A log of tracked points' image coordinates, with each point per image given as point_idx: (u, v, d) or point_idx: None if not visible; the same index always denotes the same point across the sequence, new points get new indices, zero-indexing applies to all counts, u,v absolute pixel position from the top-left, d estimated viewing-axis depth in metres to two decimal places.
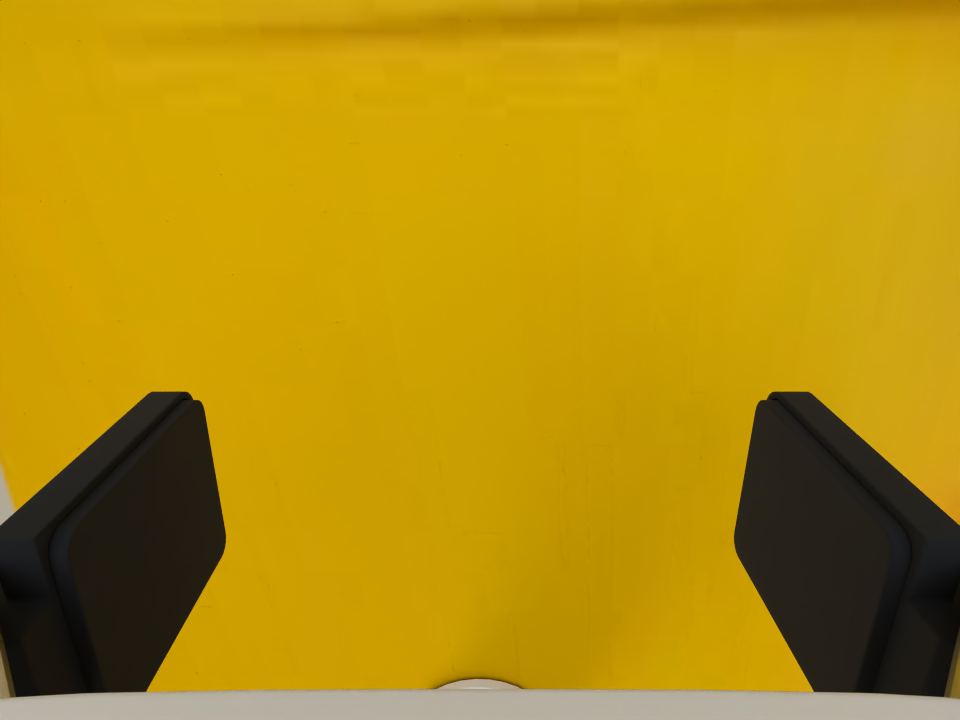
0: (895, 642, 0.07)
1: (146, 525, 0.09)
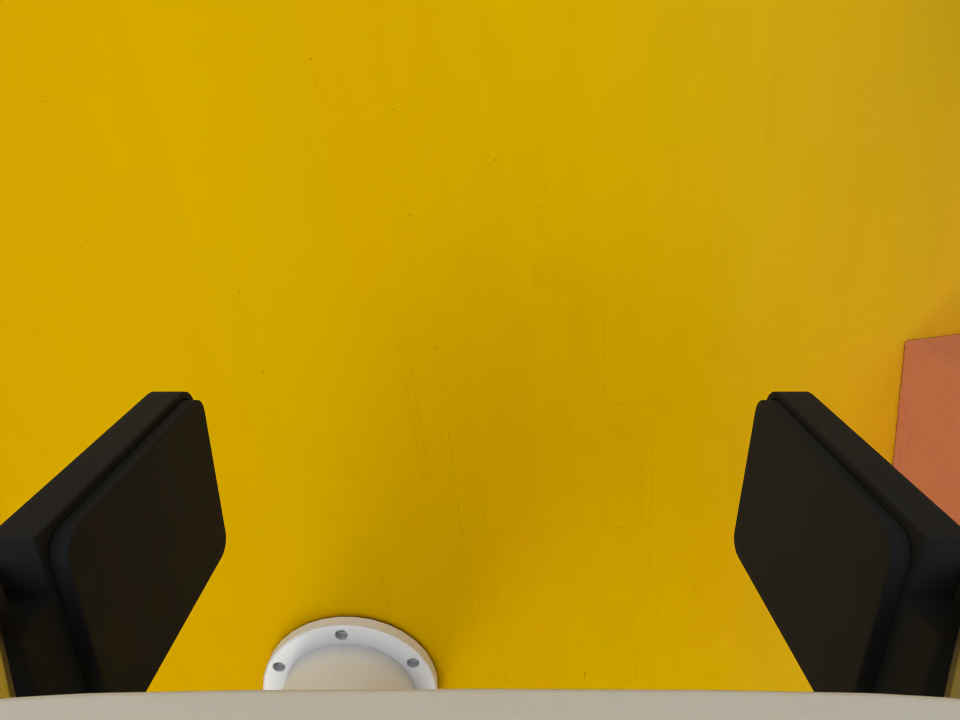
0: (895, 642, 0.07)
1: (146, 525, 0.09)
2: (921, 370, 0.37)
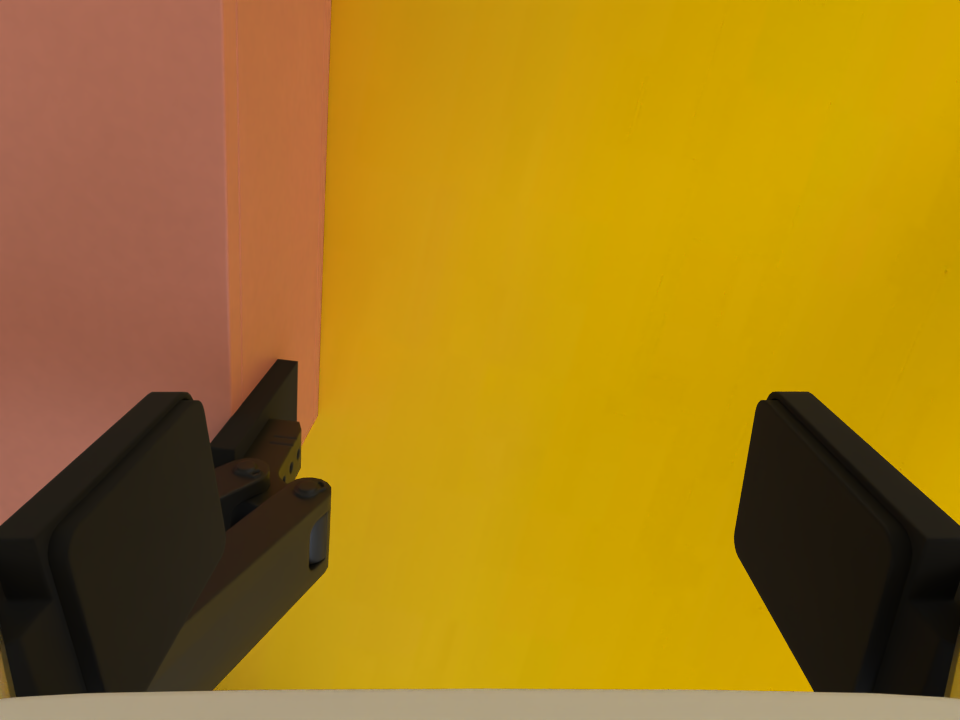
0: (895, 642, 0.07)
1: (146, 525, 0.09)
2: (309, 410, 0.30)
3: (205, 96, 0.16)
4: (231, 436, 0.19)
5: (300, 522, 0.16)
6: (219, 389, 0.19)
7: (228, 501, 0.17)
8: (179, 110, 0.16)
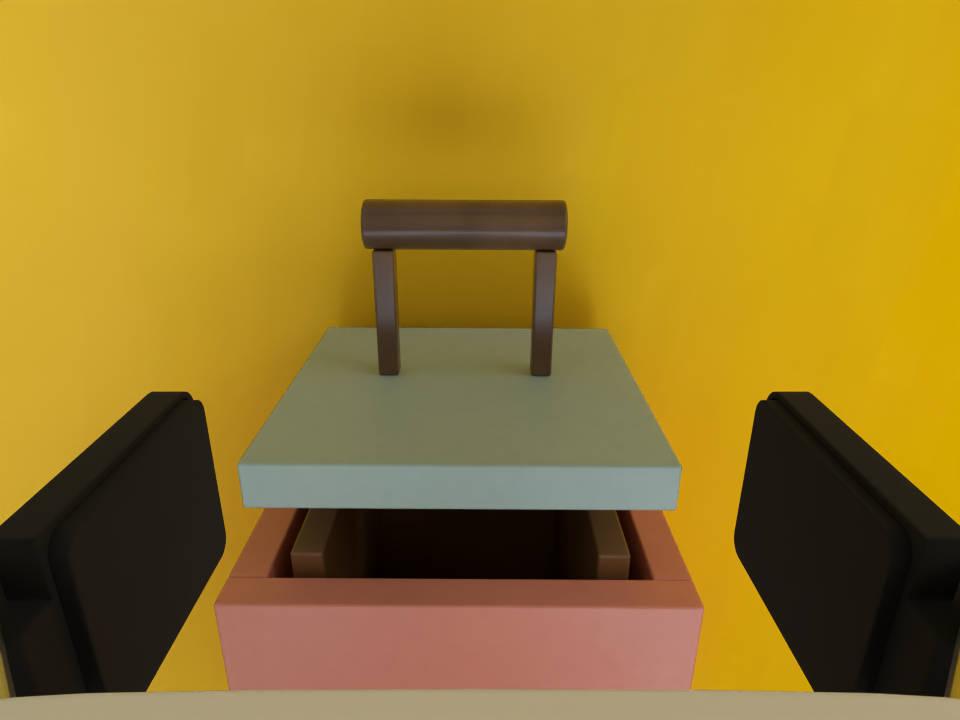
0: (895, 642, 0.07)
1: (146, 525, 0.09)
2: None
3: None
4: None
5: None
6: None
7: None
8: None
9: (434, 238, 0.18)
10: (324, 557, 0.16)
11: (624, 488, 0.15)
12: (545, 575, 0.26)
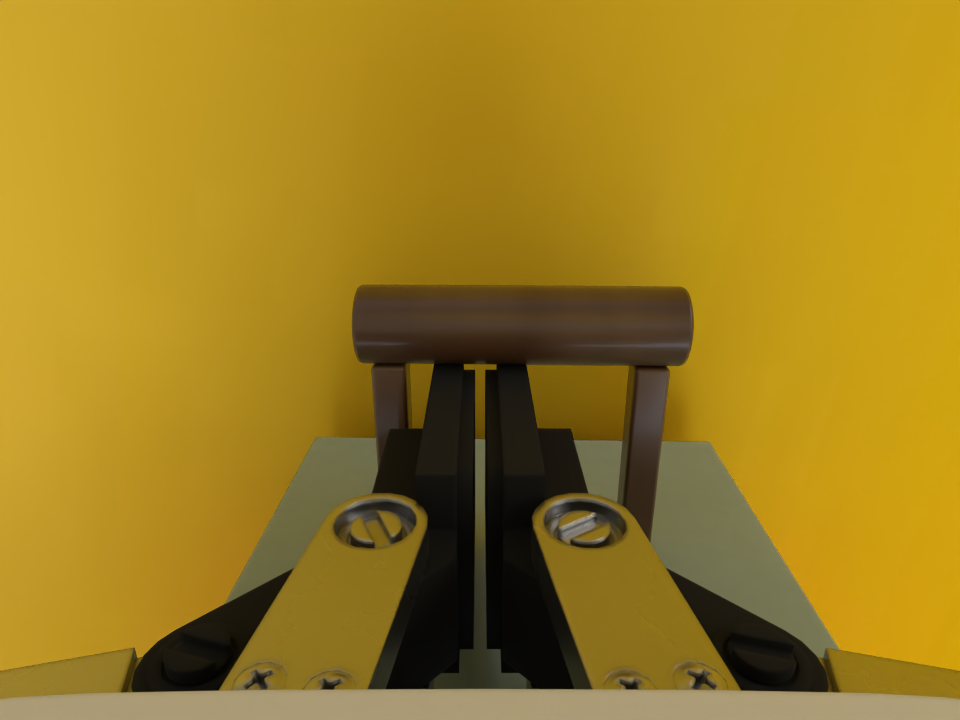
0: (503, 569, 0.09)
1: None
2: None
3: None
4: None
5: None
6: None
7: None
8: None
9: (472, 351, 0.11)
10: None
11: None
12: None
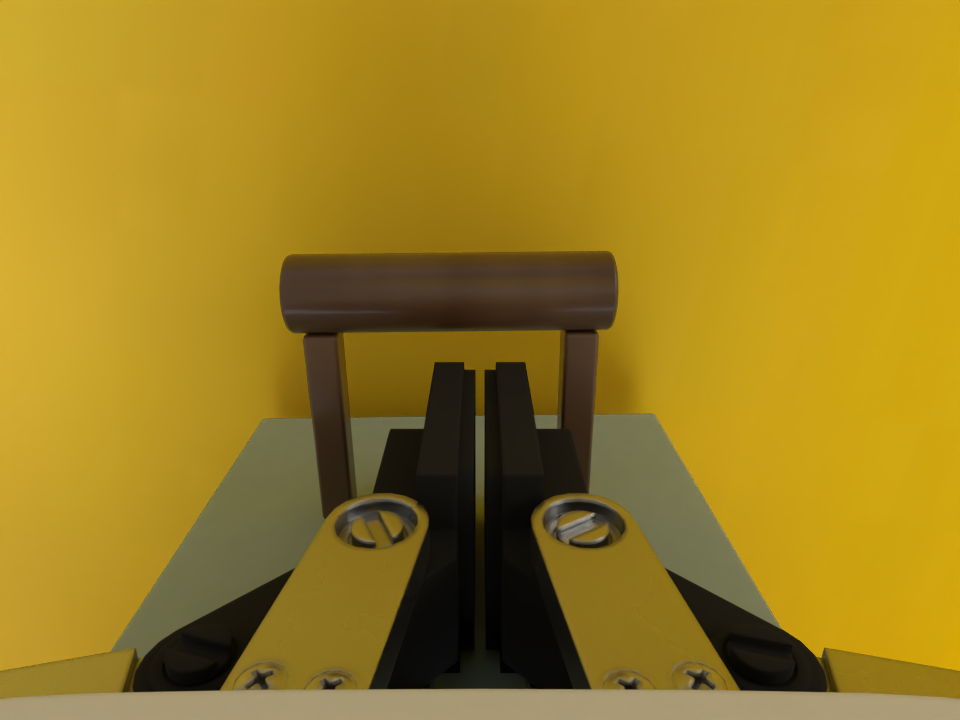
0: (502, 568, 0.09)
1: (475, 475, 0.10)
2: None
3: None
4: None
5: None
6: None
7: None
8: None
9: (401, 317, 0.11)
10: None
11: None
12: None
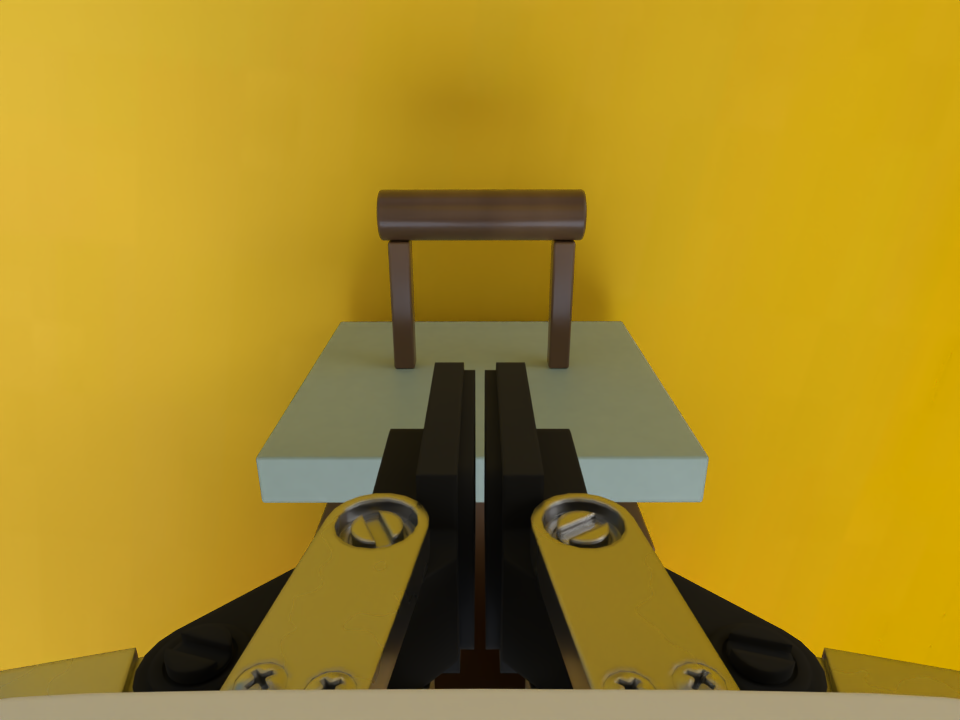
0: (502, 568, 0.09)
1: (475, 476, 0.10)
2: None
3: None
4: None
5: None
6: None
7: None
8: None
9: (451, 228, 0.17)
10: None
11: (650, 479, 0.15)
12: None
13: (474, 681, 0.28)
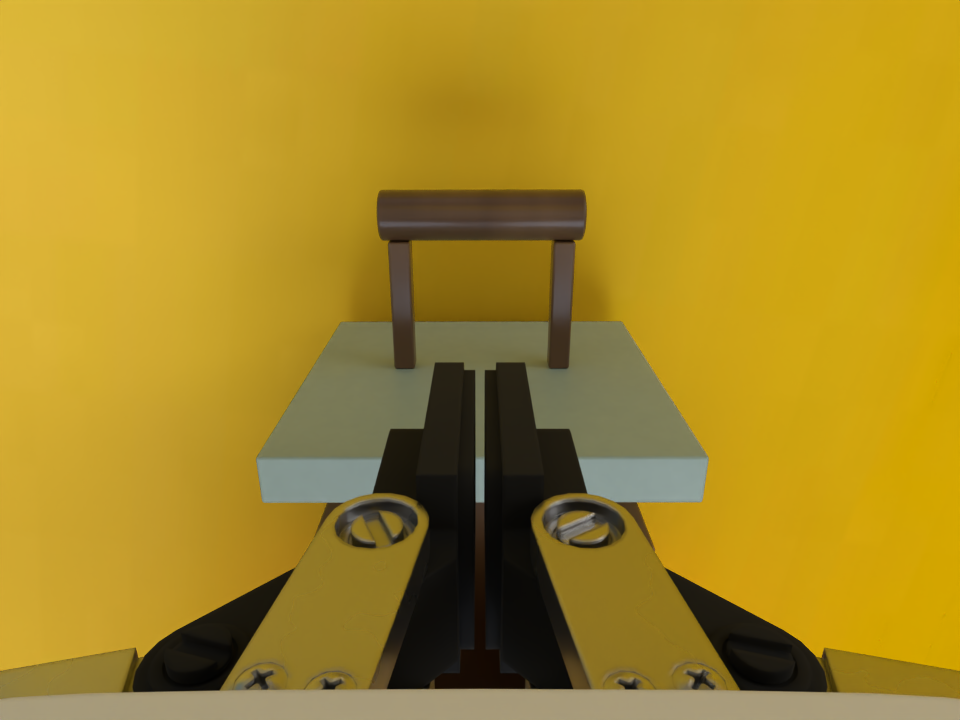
0: (502, 568, 0.09)
1: (475, 476, 0.10)
2: None
3: None
4: None
5: None
6: None
7: None
8: None
9: (451, 229, 0.17)
10: None
11: (650, 480, 0.15)
12: None
13: (474, 681, 0.28)
